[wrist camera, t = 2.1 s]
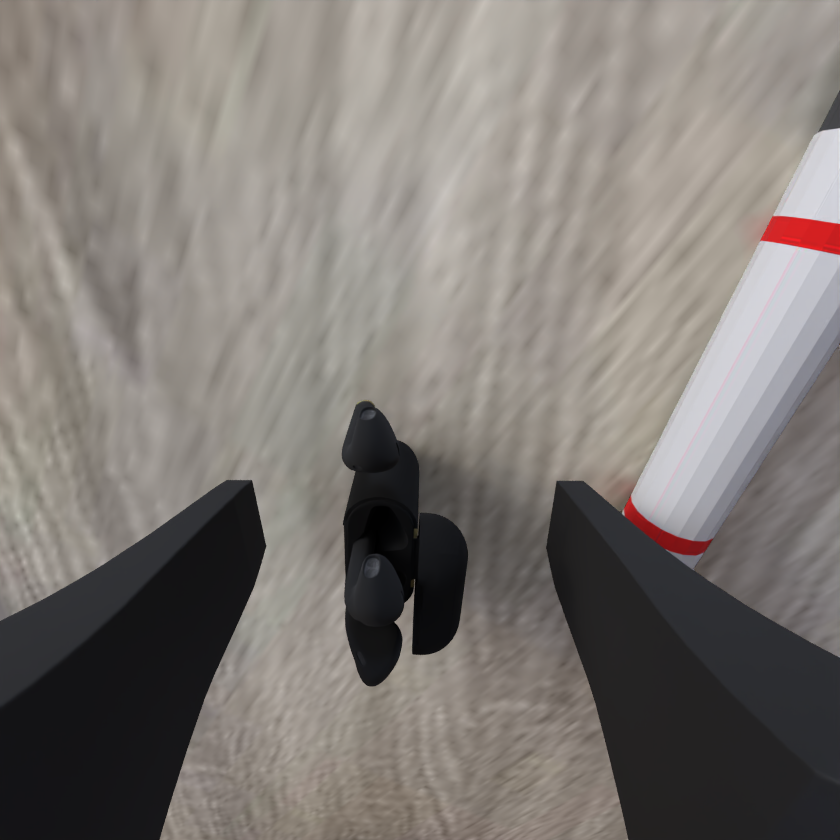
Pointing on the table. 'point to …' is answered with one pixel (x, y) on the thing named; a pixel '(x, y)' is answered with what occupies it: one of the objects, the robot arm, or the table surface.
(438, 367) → the table surface
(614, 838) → the table surface
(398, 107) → the table surface
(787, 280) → the marker
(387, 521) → the wireless earbuds
